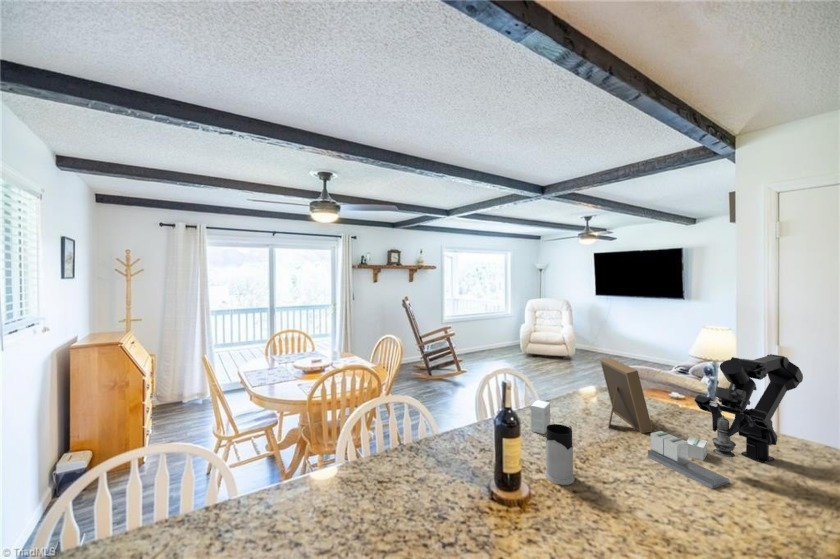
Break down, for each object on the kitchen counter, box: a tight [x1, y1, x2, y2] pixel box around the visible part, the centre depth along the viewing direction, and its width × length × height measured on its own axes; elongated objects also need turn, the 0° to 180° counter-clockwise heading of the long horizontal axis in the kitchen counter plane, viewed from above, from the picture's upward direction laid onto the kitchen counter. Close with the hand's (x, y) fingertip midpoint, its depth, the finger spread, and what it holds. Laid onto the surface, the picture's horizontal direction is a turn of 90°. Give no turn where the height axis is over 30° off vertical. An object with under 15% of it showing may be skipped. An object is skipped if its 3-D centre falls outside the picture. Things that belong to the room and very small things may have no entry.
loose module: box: [686, 436, 708, 461], centre depth 127 cm, size 7×5×5 cm
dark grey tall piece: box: [711, 414, 737, 458], centre depth 115 cm, size 6×6×12 cm
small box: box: [530, 399, 551, 435], centre depth 148 cm, size 8×6×10 cm
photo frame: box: [599, 357, 653, 434], centre depth 154 cm, size 15×22×25 cm
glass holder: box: [544, 423, 575, 486], centre depth 116 cm, size 9×14×15 cm, turn 137°
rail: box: [647, 430, 730, 490], centre depth 117 cm, size 8×20×8 cm, turn 21°
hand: (721, 433), depth 114 cm, fingers closed on dark grey tall piece, 4 cm apart
